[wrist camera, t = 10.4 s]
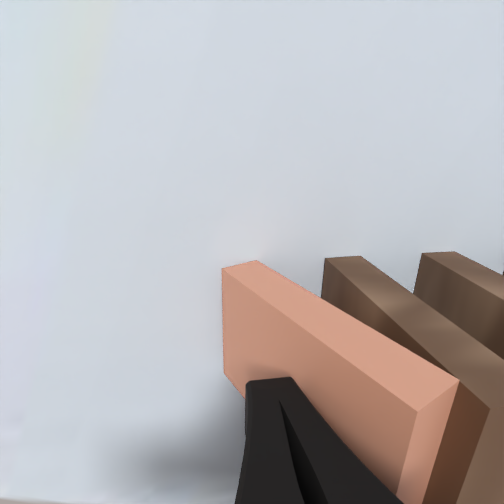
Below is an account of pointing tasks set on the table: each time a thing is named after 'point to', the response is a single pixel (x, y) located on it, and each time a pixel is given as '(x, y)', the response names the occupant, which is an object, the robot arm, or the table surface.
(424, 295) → the walnut domino
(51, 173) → the table surface
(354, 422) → the terracotta domino
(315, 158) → the table surface
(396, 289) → the walnut domino
